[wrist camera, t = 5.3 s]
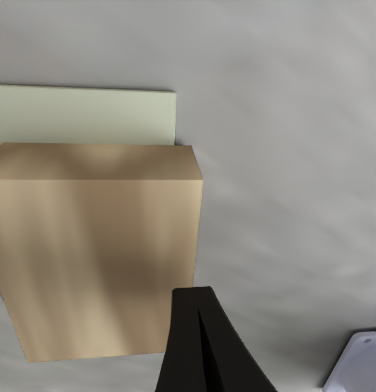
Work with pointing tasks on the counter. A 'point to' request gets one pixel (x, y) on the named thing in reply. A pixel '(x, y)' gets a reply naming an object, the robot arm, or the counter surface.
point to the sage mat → (86, 115)
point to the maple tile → (95, 245)
